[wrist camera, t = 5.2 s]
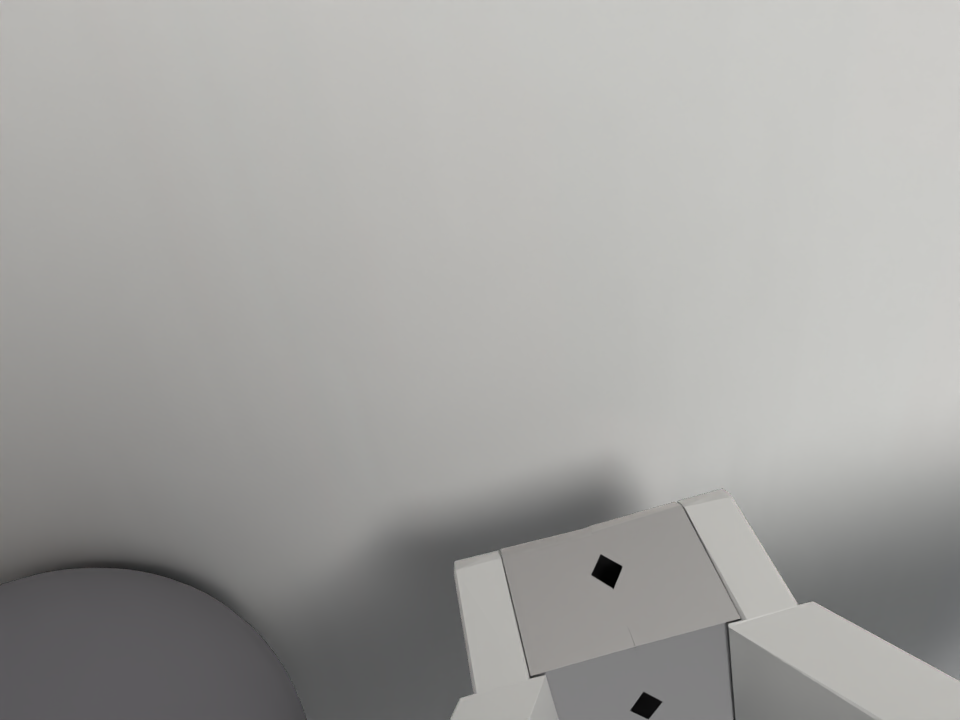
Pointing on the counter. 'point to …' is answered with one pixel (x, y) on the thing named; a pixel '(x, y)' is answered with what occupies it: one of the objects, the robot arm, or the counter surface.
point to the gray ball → (132, 652)
